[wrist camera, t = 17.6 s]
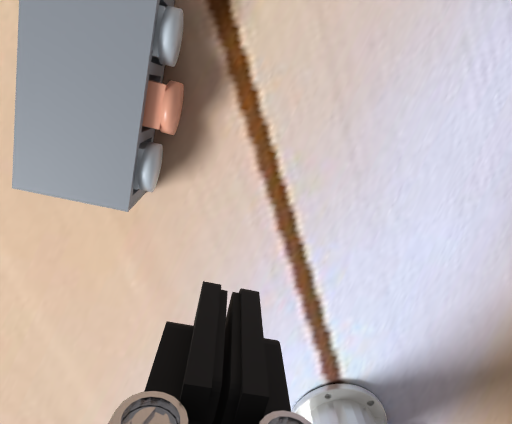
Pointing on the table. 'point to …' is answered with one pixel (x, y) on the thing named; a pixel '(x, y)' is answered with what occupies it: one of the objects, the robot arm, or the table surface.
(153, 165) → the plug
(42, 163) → the socket block
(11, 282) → the table surface
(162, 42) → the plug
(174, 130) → the plug terracotta
